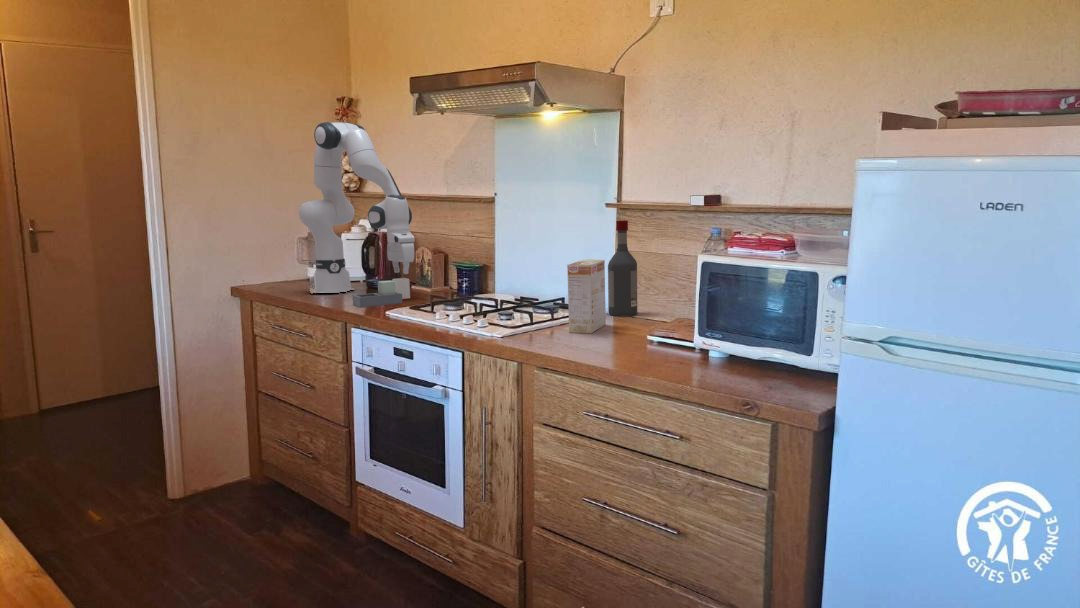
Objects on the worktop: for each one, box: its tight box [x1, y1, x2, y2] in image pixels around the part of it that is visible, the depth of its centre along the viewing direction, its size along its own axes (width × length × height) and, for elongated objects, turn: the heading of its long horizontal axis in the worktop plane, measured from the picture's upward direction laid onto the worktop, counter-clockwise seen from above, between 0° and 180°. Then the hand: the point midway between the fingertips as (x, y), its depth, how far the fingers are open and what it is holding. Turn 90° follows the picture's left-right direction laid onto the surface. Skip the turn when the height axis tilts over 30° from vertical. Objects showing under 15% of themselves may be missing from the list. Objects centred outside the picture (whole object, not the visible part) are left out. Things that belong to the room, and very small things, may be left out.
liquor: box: [607, 220, 638, 317], centre depth 242 cm, size 9×9×30 cm
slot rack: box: [352, 292, 403, 308], centre depth 278 cm, size 8×16×4 cm, turn 121°
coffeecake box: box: [566, 258, 607, 334], centre depth 218 cm, size 15×7×20 cm, turn 159°
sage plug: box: [377, 280, 396, 295], centre depth 280 cm, size 5×5×8 cm
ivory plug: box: [391, 277, 411, 300], centre depth 293 cm, size 5×5×8 cm
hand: (401, 273), depth 292 cm, fingers open, 8 cm apart
